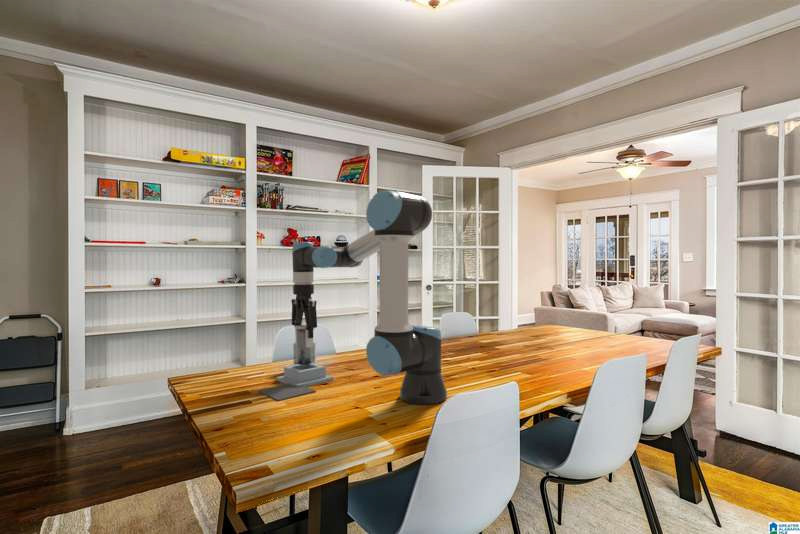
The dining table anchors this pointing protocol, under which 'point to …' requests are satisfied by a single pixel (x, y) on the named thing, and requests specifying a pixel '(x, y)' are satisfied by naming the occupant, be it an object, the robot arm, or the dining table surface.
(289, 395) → the mat
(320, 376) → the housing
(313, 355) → the ink box
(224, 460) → the dining table surface
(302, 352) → the grey capped cylinder
